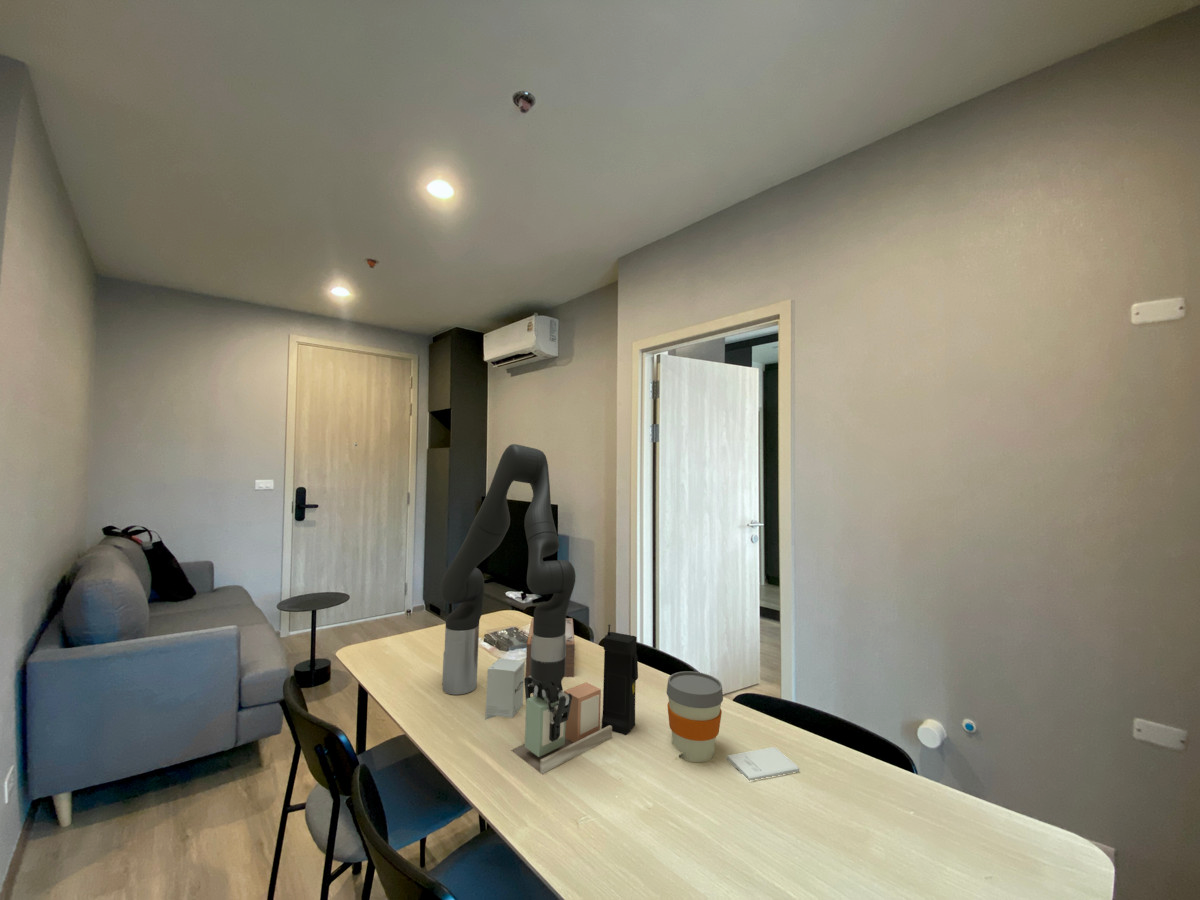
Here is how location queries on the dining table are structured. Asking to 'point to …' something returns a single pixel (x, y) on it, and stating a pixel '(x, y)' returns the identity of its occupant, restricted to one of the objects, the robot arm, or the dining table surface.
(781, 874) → the dining table surface
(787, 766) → the external hard drive
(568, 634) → the tissue box cover
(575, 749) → the shallow tray
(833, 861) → the dining table surface
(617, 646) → the portable radio
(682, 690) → the reusable coffee cup
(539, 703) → the tea tin
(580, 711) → the terracotta tin
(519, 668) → the supplement box
